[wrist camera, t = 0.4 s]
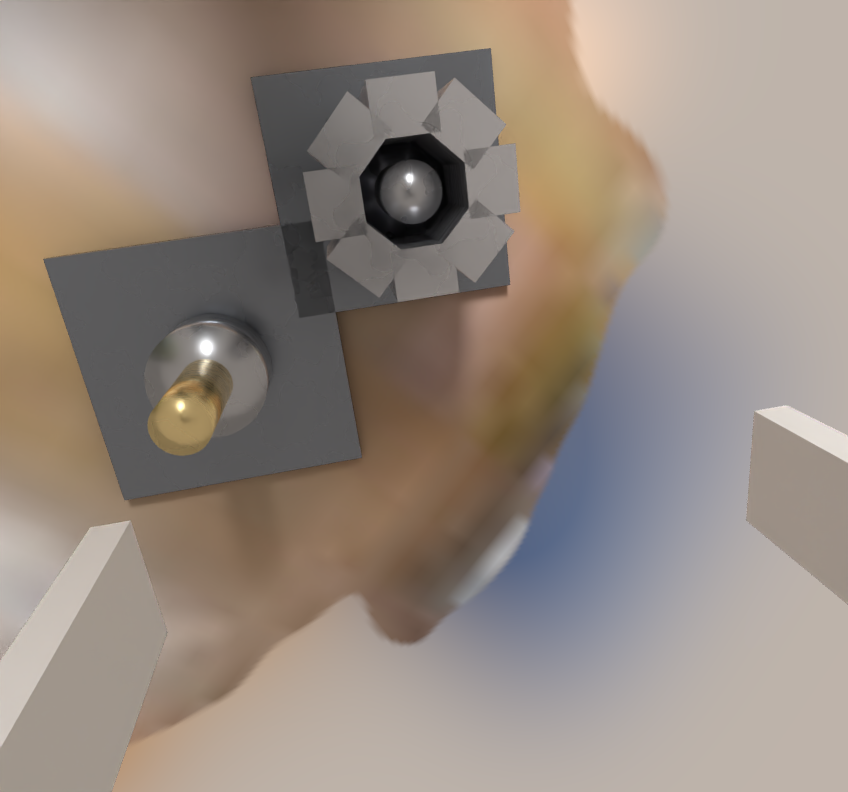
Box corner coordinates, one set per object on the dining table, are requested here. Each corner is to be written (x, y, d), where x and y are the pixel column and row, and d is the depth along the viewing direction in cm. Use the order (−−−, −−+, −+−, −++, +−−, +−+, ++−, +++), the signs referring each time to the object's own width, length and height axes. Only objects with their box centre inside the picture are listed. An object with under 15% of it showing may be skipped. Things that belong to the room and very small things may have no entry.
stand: (252, 79, 31) (220, 37, 22) (487, 50, 32) (550, -1, 23) (299, 315, 35) (289, 362, 26) (507, 283, 36) (566, 317, 27)
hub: (48, 257, 32) (-62, 288, 23) (318, 218, 33) (315, 233, 24) (127, 495, 37) (62, 597, 28) (361, 453, 38) (371, 537, 29)
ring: (294, 105, 26) (287, 89, 22) (478, 82, 27) (509, 61, 22) (329, 291, 29) (328, 313, 24) (494, 266, 30) (525, 281, 25)
